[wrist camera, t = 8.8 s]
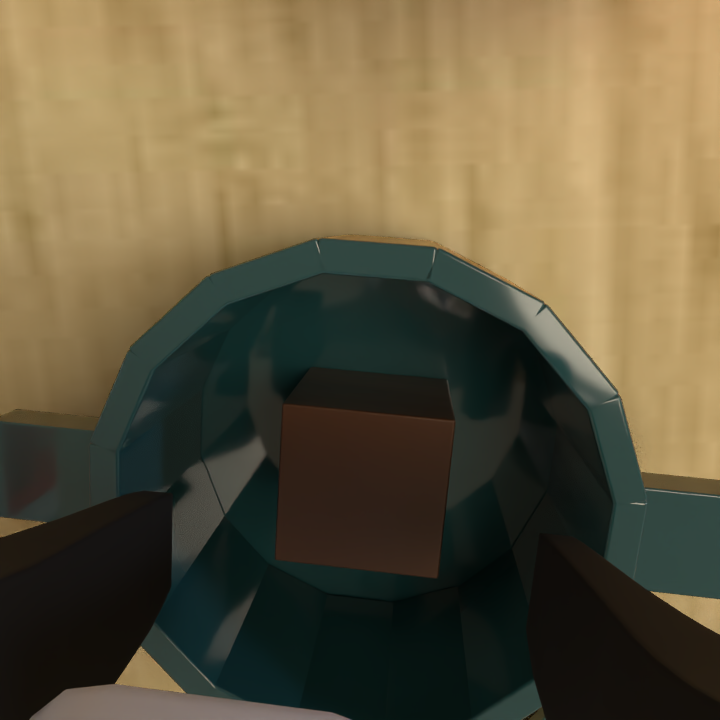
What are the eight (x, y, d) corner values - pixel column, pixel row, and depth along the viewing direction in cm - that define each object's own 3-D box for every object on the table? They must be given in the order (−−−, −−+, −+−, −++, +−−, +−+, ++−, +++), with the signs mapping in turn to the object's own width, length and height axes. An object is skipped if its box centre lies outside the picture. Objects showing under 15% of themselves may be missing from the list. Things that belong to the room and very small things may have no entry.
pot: (633, 642, 20) (720, 810, 14) (102, 578, 21) (-16, 709, 15) (704, 261, 17) (844, 278, 12) (97, 214, 19) (-45, 209, 13)
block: (434, 508, 19) (438, 579, 15) (302, 493, 20) (273, 560, 16) (448, 378, 18) (455, 420, 14) (310, 366, 19) (282, 403, 15)
